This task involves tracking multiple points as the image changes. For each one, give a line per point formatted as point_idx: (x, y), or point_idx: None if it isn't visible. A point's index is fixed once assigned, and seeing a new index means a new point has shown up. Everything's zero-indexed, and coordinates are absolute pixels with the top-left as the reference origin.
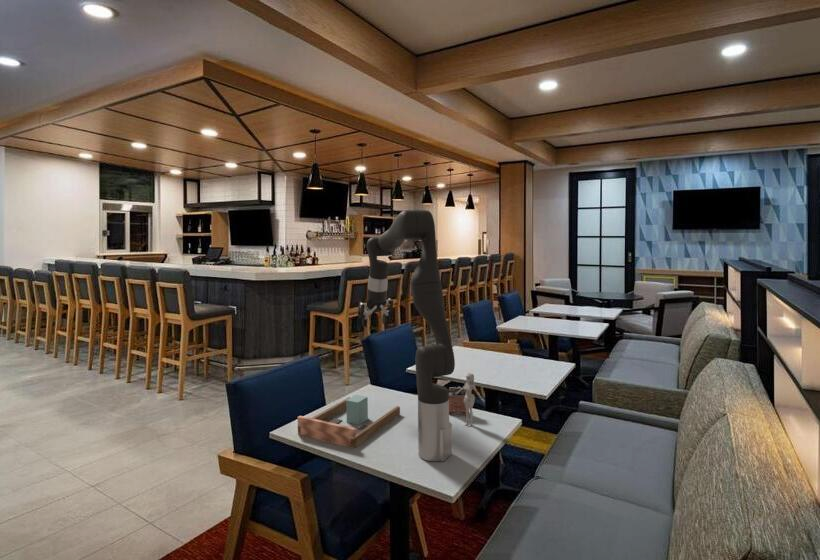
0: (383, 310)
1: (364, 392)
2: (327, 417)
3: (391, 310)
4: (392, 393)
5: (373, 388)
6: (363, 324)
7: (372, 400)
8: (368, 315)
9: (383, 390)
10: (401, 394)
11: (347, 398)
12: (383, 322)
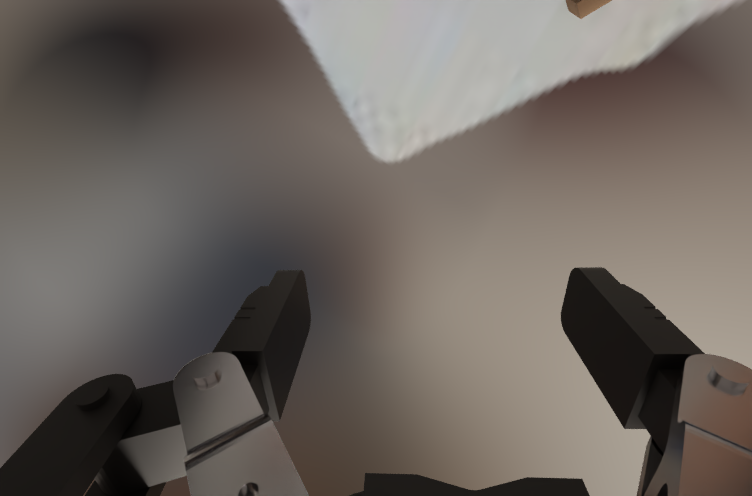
0: (278, 490)
1: (432, 120)
2: None
3: (53, 447)
4: (336, 45)
5: (382, 142)
6: (650, 302)
7: (454, 5)
8: (702, 423)
9: (356, 101)
10: (303, 7)
11: (601, 3)
12: (303, 300)
